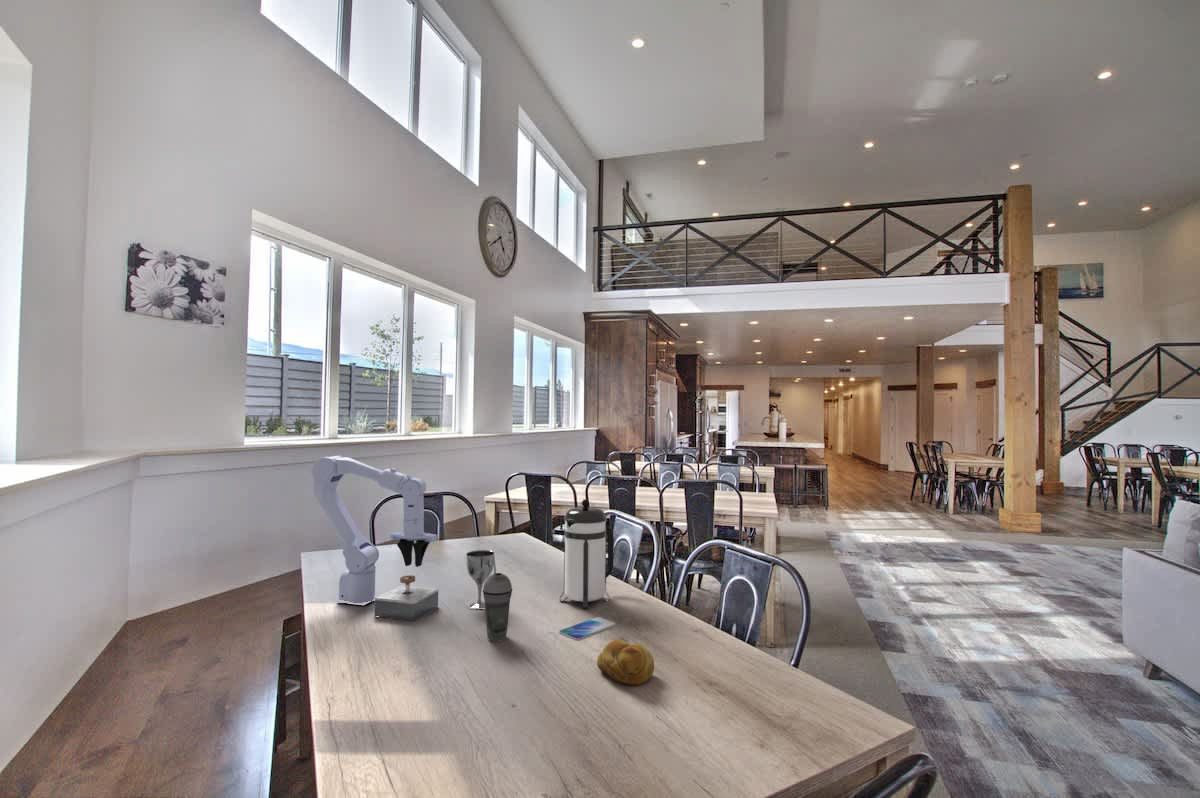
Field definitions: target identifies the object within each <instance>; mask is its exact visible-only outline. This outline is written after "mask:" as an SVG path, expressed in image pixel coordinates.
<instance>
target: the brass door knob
mask: <svg viewBox="0 0 1200 798" xmlns="http://www.w3.org/2000/svg"><path fill="white" fill-rule="evenodd" d="M399 580H400V581H399V582H400V583H402V584H404V585H405V594H406V595H409V594H410V586H411V583H412V584H413V583H414V582H416V576H415V575H404V576H403V575H402V576H401V577H399Z"/></svg>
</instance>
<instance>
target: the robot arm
mask: <svg viewBox="0 0 1200 798" xmlns="http://www.w3.org/2000/svg"><path fill="white" fill-rule="evenodd" d="M310 472H311V475H312V476H313V493H314V496H315V497H316V499H317V501H318V503H319V505H320V506H321V508H322V510H323V511H324V513H325V515H326V516H327V518H328V520H329V521H330V523H331V526H332V527H333V529H334V531H335V532H336V534H337V536H338V537H339V539H340V541H341V543H342V544H343V548H342V555H343V557H344V561H345V563H344V564H345V567H346V568H347V569H345V570H344V571H343V572H342V573H341V575H340V577H339V581H338V583H339V584H338V586H339V587H338V601H339V600H344V601H349V602H353V603H363V602H368V601H372V600H373V599H375V596H376V565H375V564H376V562H377V561H378V560H379V558H380V552H379V549H378V547H376V546H375V545H374V544H373V543H371V542H370V540H369V539H368V538H367V537H366V536H364V535H362V534H361V532H360V529H358V526H357V524H356V523H355V521H354V520H353V518H352V516H351V514H350V512H349V511H348V509H347V507H346V505H345V504H344V502H343V500H342V498H341V497H340V494H338V491H337V488H338V485H339V482H340V481H341V480H342V478H344V477H343V476H345V475H347V474H353V475H355V476H359V477H362V478H366V479H368V480H373V481H376V482H377V484H378V486H379V487H380V488H381V489H385V490H389V491H392V492H393V493H397V494H401V496H402V497H403V508H402V509H403V523H402V524H403V526H402V527H403V529H402V530H403V531H402V532H391V533H389V536H390V537H389V540H390V541H398V542H397V543H396V545H397V547H398V549H399V550H400V552H401V556H402V557H403V561H404V566H405V567H409V566H410V565H412V562H413V551H414V565H415V567H416V568H418V567H420V566H422V565H423V560H424V556H425V553H426V550H427V548H428V547H429V545H430V543H436V542H437V541H438V534H435V533H434V534H433V533H428V532H424V531H425V529H424V528H425V527H424V526H425V521H424V519H425V518H424V517H425V509H424V508H425V504H424V502H425V501H424V499H425V498H424V497H425V496H424V494H425V492H426V490H427V485H426V484H427V483H426V481H425V480H424V479H422V478H421V477H419V476H414V477H412V475H411V474H409V473H408V474H405V473H402V472H399V471H397V469H396V468H394V467H392V468H386V469H383V470H381V469H379V468H376V467H373V466H371V465H369V464H366V463H364V462H361V461H358V460H356V459H353V458H351V457H347V456H345V457H344V456H343V455H341V454H340V455H339V454H338V455H333V456H322V457H319V458H318V459H317V460H316V461H315V462H314V464H313V466H312V468H311V471H310Z"/></svg>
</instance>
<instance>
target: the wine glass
mask: <svg viewBox="0 0 1200 798" xmlns="http://www.w3.org/2000/svg"><path fill="white" fill-rule="evenodd" d="M465 555H466V556H465V557H466V559H465V561H466V562H465V563H466V564H465V565H466V570H467V573H468V575H469V577H471V579H472V580H473V581H474V583H475V585H476V586H477V593H478V599H477V601H475V603H474V602H471V603H472V604H471V603H469V604H470V607H471V608H485V601H482V592H483V587H484V583H485V581H486V580H487V578H488V577H489V576H491V575H492V574H493V573H492V572H493V571H494V566H493V555H494V556H495V551H493V550H488V549H478V550H471V551H468V552H467V553H466V554H465Z"/></svg>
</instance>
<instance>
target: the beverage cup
mask: <svg viewBox="0 0 1200 798" xmlns="http://www.w3.org/2000/svg"><path fill="white" fill-rule="evenodd" d="M496 567H497V566H496V557H495V554H494V555H493V573H491V574H490V576H489V577H488V578H487V579H486V580H485V582H484V583H483V586H482V596H483V599H484V602H485V610H484V611H485V624H486V625H485V626H486V634H487V640H488V639H489V640H488V641H490V640H491V641H490V642H500V641H499V640H502V641H504V640H506V639H505V638H507V633H508V625H509V615H510V614H509V613H510V607H511V606H510V603H511V597H512V593H513V588H512V587H513V586H512V582H511V580H510V578H509V577H508V576H507V575H506V574H504V573H501V572H497V569H496ZM503 639H504V640H503Z"/></svg>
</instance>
